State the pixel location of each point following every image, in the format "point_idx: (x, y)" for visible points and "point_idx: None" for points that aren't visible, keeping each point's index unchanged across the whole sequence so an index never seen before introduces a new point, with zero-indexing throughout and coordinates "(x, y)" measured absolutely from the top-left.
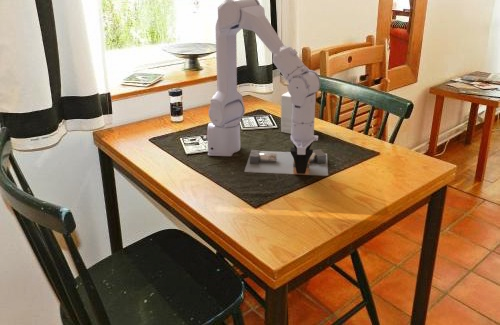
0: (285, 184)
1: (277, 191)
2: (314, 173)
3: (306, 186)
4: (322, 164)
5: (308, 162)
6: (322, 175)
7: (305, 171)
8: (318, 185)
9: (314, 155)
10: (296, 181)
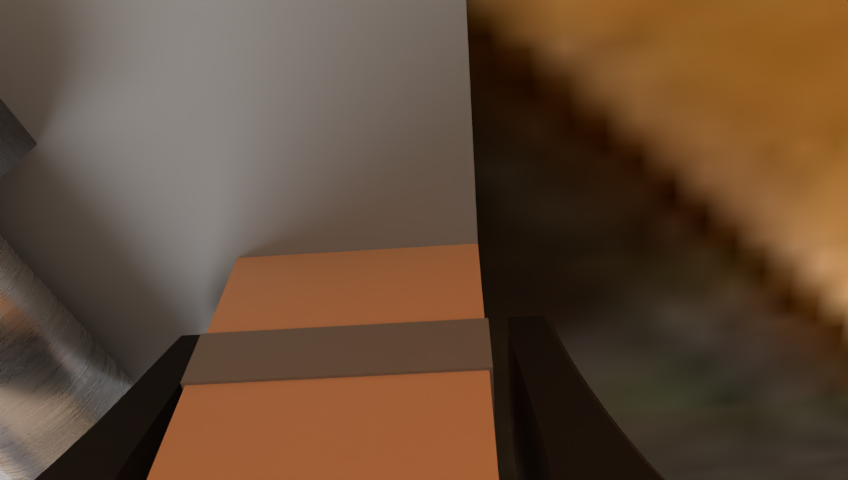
0: (676, 429)
1: (843, 475)
2: (418, 164)
3: (738, 214)
4: (4, 56)
5: (488, 408)
6: (466, 23)
7: (553, 335)
8: (711, 50)
9: None
10: (590, 337)
